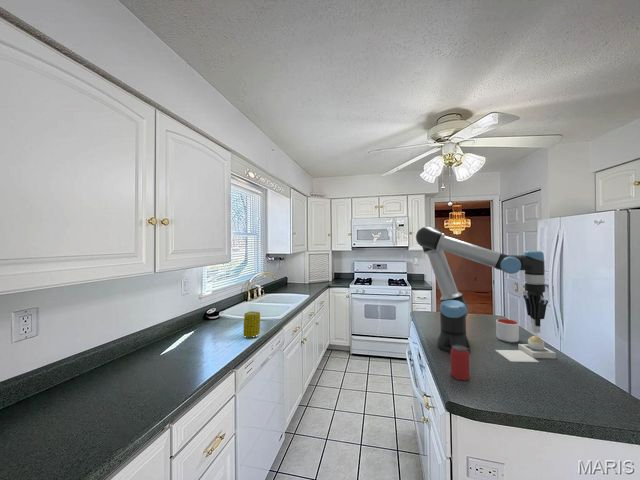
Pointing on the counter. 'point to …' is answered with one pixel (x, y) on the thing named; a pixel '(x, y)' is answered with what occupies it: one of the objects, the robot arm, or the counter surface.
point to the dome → (536, 343)
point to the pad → (516, 356)
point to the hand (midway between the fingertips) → (536, 332)
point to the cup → (507, 330)
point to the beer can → (460, 362)
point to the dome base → (536, 352)
